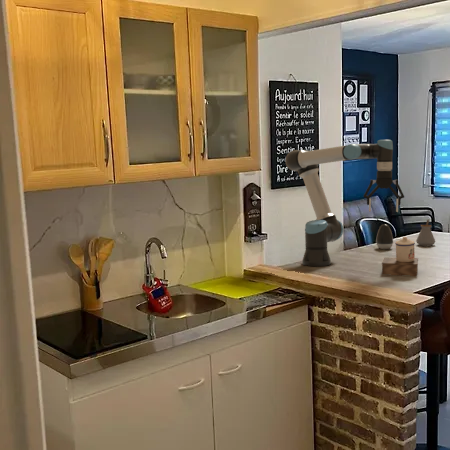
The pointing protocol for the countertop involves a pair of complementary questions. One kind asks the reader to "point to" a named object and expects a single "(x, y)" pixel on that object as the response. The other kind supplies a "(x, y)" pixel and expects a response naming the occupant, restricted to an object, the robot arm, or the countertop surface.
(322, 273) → the countertop surface
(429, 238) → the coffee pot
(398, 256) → the teacup with lid
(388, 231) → the brown egg-shaped piece
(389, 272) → the walnut box
